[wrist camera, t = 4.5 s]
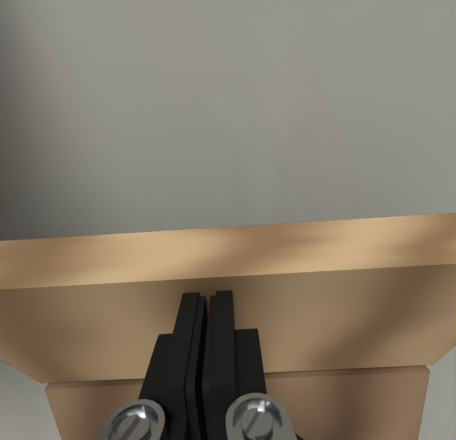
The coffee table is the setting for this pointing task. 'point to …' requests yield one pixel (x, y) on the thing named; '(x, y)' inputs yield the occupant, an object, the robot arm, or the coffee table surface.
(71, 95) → the coffee table surface
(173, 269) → the oak plank
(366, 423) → the walnut board
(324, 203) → the coffee table surface
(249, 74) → the coffee table surface
